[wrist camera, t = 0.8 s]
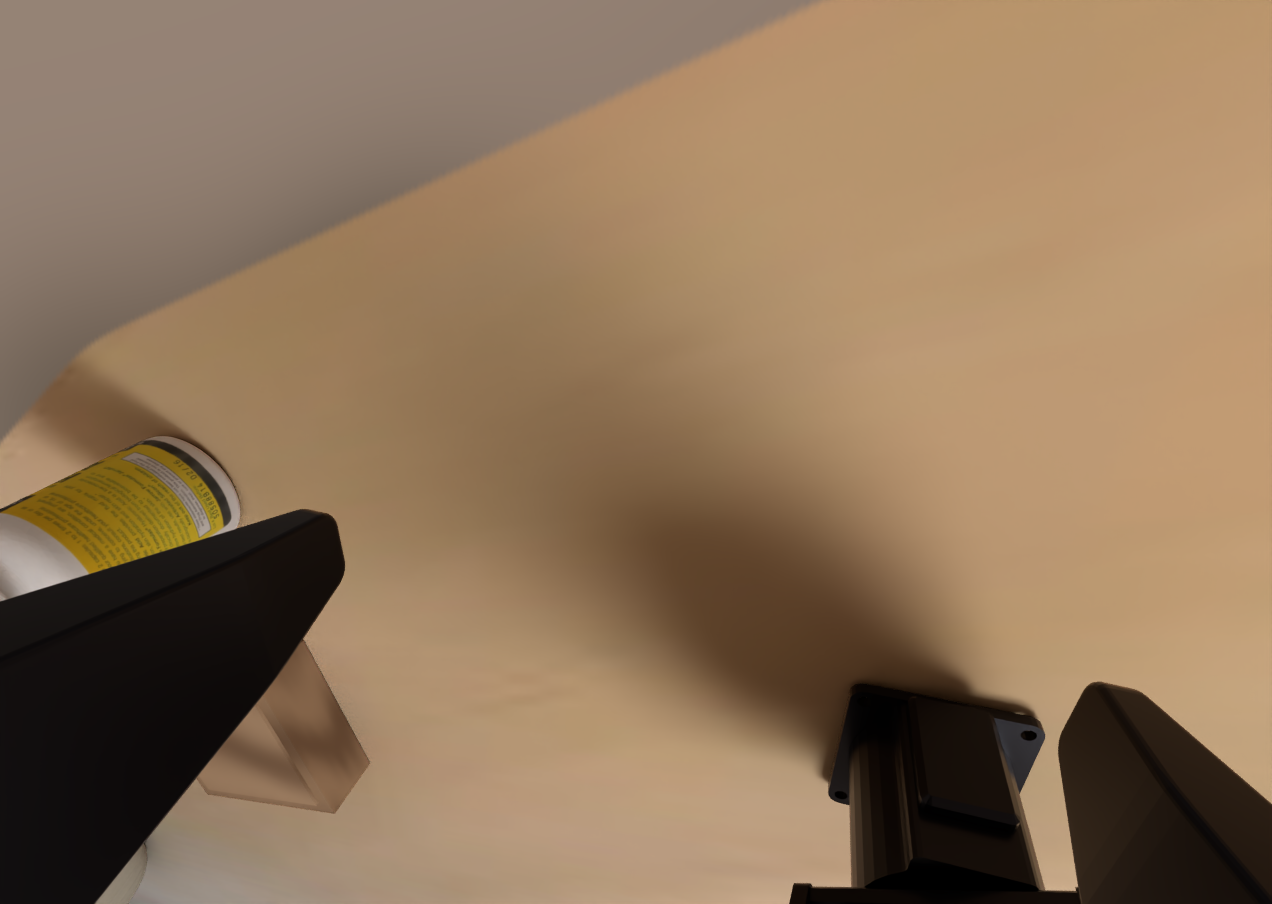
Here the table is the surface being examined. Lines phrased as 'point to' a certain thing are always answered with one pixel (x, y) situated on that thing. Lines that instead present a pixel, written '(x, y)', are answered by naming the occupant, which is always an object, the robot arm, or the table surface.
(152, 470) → the supplement bottle
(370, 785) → the table surface
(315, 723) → the square wooden block
